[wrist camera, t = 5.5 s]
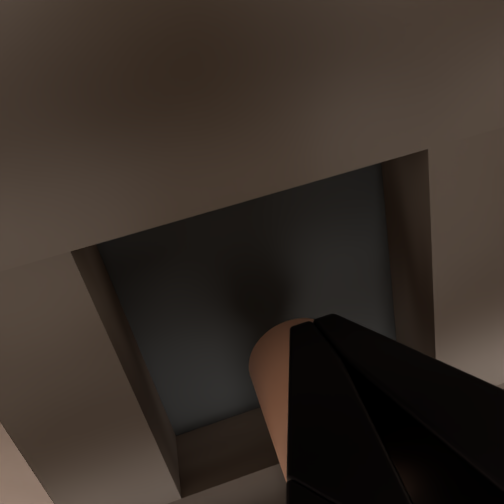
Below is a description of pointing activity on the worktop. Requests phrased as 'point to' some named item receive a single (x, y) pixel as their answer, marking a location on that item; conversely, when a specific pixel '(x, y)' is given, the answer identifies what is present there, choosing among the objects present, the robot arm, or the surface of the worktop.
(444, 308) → the deck
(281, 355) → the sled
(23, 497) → the worktop surface
